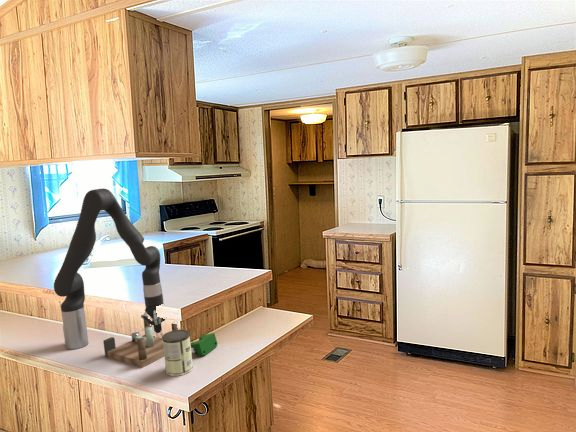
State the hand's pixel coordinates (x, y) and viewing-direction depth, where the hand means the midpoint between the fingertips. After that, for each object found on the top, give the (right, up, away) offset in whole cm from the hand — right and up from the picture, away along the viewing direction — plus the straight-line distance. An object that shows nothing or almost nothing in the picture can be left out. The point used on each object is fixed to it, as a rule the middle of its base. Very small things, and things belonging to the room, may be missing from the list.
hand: (158, 332), depth 192 cm
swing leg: (-7, -5, +1) cm, 8 cm away
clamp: (+21, -7, -5) cm, 22 cm away
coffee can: (+14, -9, -21) cm, 27 cm away
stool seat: (-4, -8, -2) cm, 9 cm away
